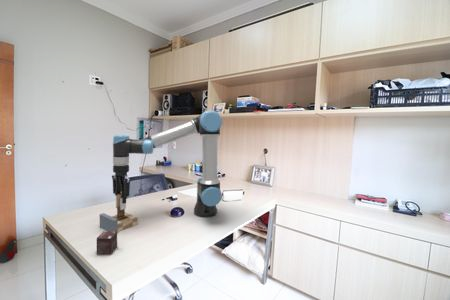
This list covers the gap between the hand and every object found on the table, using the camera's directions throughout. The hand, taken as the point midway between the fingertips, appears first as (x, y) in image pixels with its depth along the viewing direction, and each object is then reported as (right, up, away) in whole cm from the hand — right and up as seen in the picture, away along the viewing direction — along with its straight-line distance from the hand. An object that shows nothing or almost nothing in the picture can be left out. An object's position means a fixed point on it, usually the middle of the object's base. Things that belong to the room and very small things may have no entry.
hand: (120, 208), depth 111 cm
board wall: (+2, -10, +4) cm, 11 cm away
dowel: (0, -4, 0) cm, 4 cm away
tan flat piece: (0, -9, +1) cm, 9 cm away
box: (+5, -13, -21) cm, 25 cm away
